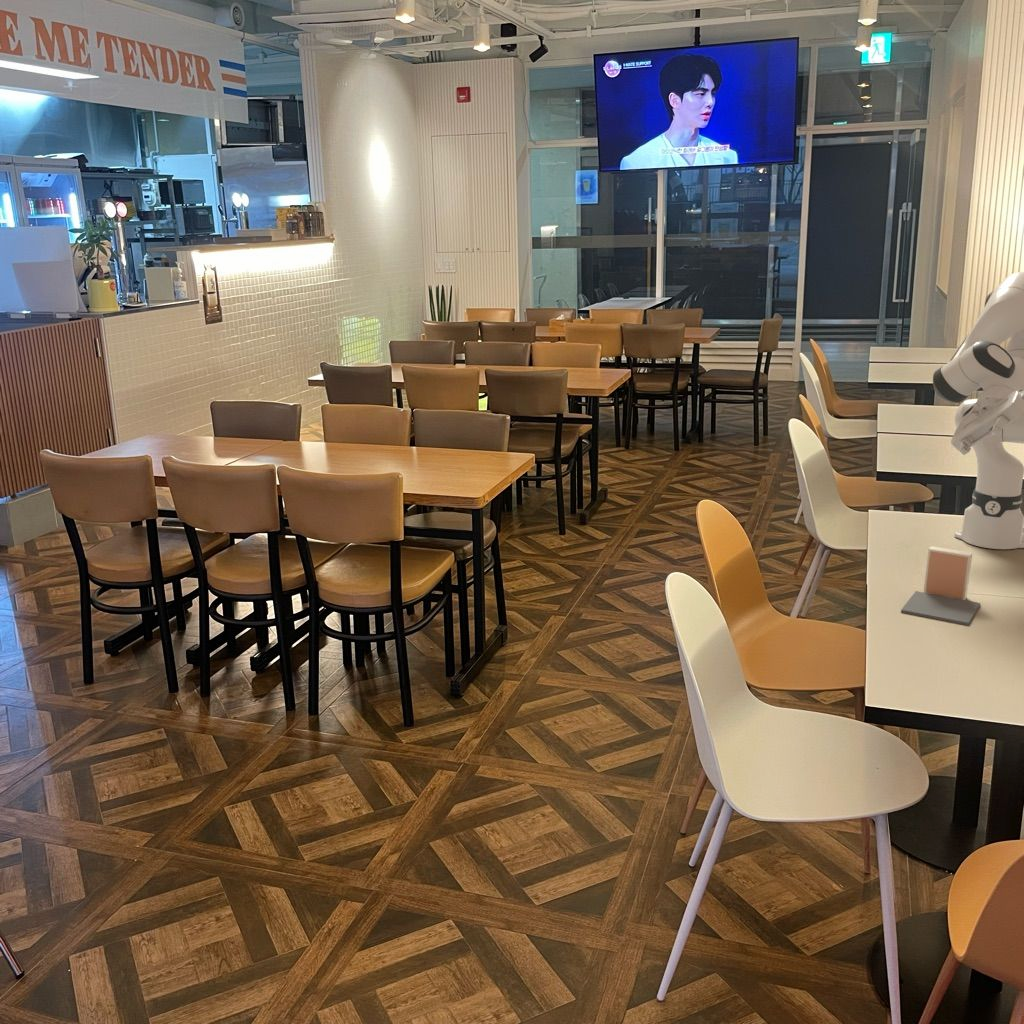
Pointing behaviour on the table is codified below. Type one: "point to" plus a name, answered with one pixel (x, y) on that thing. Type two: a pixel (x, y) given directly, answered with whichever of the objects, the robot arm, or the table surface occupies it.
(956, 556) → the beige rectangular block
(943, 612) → the charcoal mat
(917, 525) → the table surface
